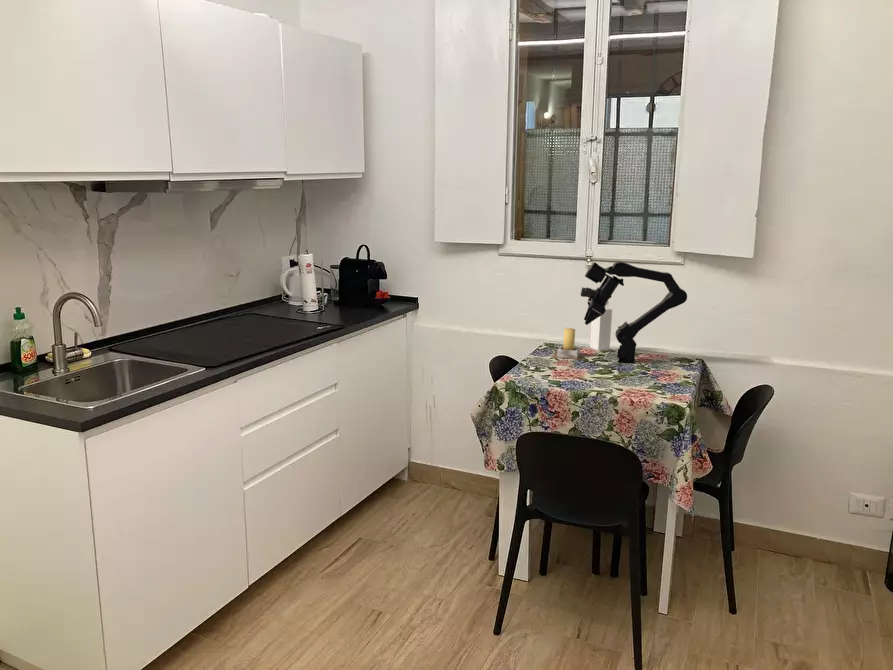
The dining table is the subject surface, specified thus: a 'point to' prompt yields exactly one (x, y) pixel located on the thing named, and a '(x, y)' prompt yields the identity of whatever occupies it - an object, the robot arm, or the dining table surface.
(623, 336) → the robot arm
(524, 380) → the dining table surface
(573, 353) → the stand
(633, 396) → the dining table surface
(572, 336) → the post
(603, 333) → the milk
